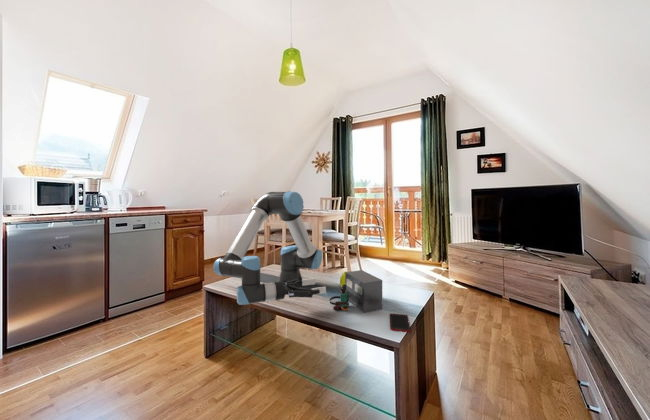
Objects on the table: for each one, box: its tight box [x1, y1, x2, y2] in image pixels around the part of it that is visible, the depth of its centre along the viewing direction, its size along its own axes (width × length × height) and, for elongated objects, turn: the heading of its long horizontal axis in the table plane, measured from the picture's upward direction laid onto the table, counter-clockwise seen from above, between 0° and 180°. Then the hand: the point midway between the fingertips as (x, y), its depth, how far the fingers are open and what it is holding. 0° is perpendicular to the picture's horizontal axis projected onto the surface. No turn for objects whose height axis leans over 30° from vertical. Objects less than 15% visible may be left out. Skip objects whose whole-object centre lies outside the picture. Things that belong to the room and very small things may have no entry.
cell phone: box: [389, 313, 411, 333], centre depth 110 cm, size 8×15×1 cm, turn 167°
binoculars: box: [329, 285, 350, 312], centre depth 125 cm, size 9×11×10 cm
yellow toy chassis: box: [339, 270, 349, 287], centre depth 155 cm, size 16×6×8 cm, turn 68°
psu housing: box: [344, 269, 383, 314], centre depth 130 cm, size 19×10×14 cm, turn 23°
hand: (320, 285), depth 121 cm, fingers open, 13 cm apart
